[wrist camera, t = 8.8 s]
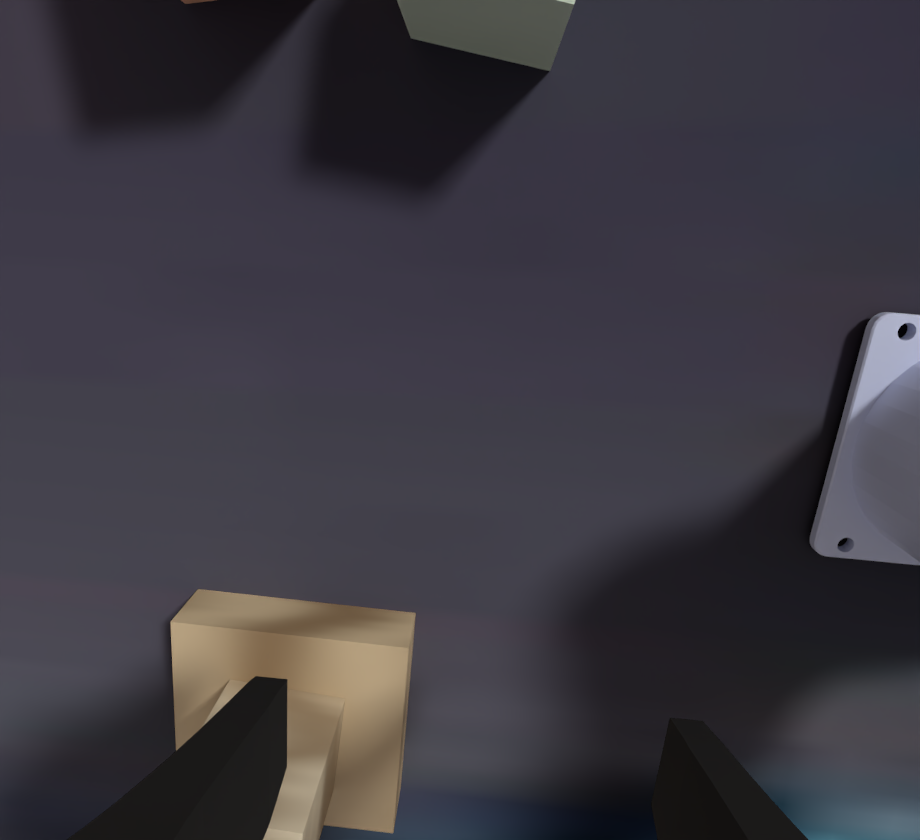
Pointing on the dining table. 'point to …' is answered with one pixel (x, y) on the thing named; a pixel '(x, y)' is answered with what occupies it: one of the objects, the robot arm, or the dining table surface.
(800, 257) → the dining table surface
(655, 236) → the dining table surface
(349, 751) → the oak slab
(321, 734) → the maple block
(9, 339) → the dining table surface
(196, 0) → the terracotta block
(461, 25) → the sage block
